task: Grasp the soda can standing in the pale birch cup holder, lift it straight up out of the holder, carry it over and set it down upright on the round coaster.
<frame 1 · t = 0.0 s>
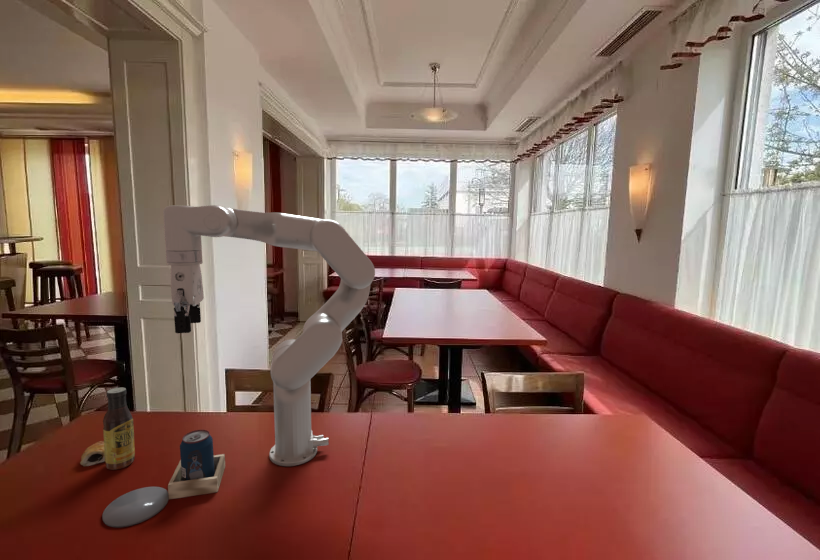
hand: (188, 327, 97), 37 cm above the table, fingers open, 9 cm apart
pastry: (98, 458, 105), on the table
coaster: (137, 506, 87), on the table
sauce bottle: (121, 464, 102), on the table
cup holder: (198, 481, 95), on the table
soda can: (198, 482, 96), resting in cup holder
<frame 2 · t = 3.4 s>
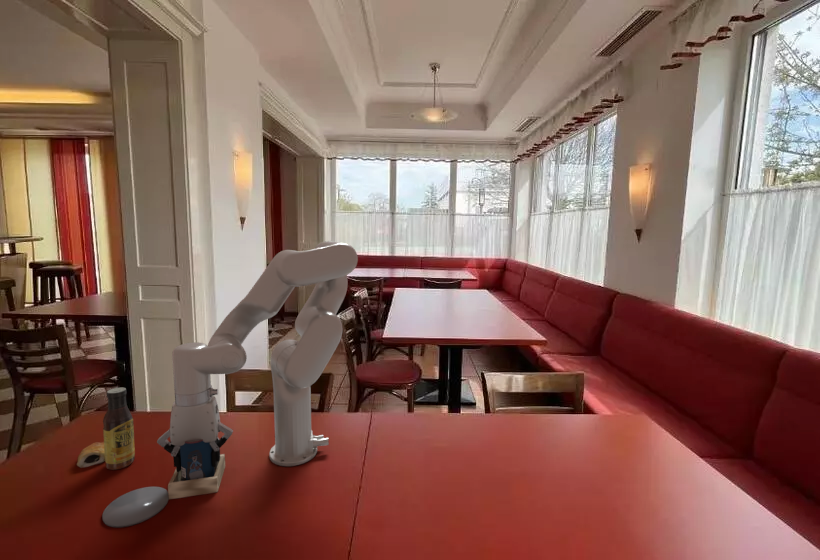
hand: (197, 465, 95), 4 cm above the table, fingers closed on soda can, 7 cm apart
soda can: (198, 482, 96), resting in cup holder, touching gripper
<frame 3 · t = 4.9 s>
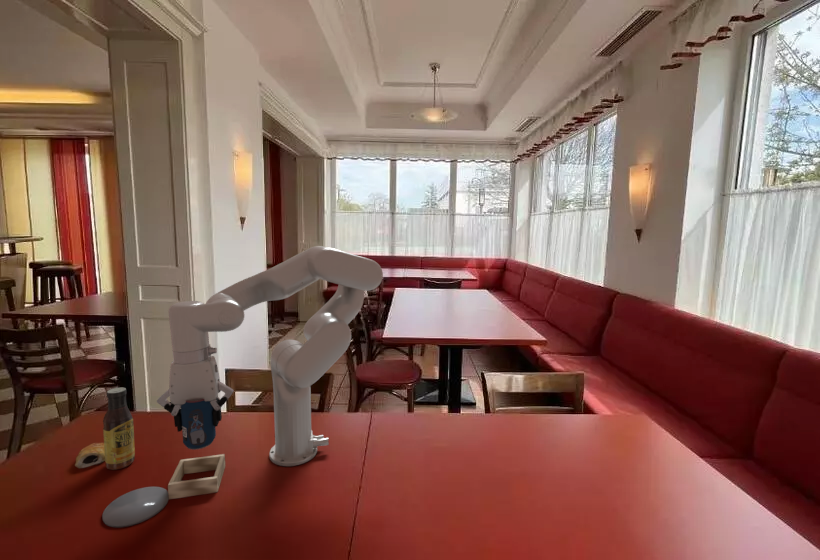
hand: (199, 425, 94), 14 cm above the table, fingers closed on soda can, 7 cm apart
soda can: (200, 443, 95), point 10 cm above the table, touching gripper
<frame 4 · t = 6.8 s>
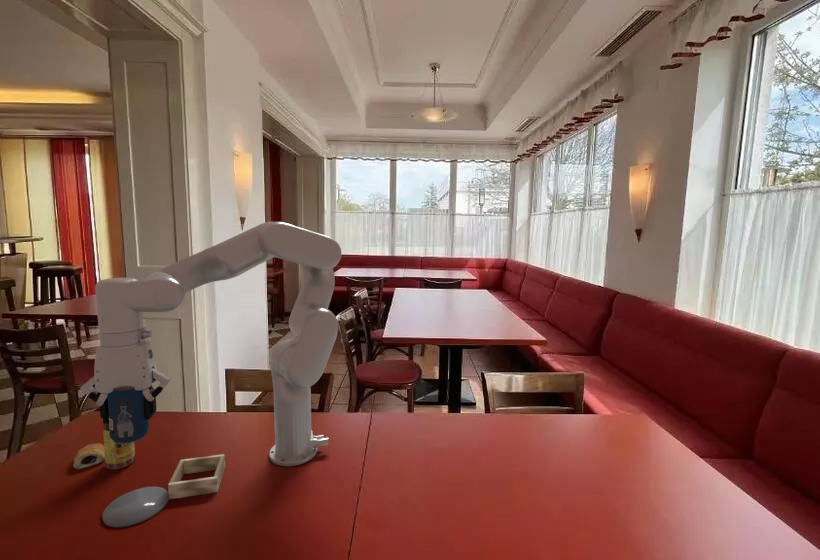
hand: (129, 418, 84), 21 cm above the table, fingers closed on soda can, 7 cm apart
soda can: (130, 438, 85), point 16 cm above the table, touching gripper
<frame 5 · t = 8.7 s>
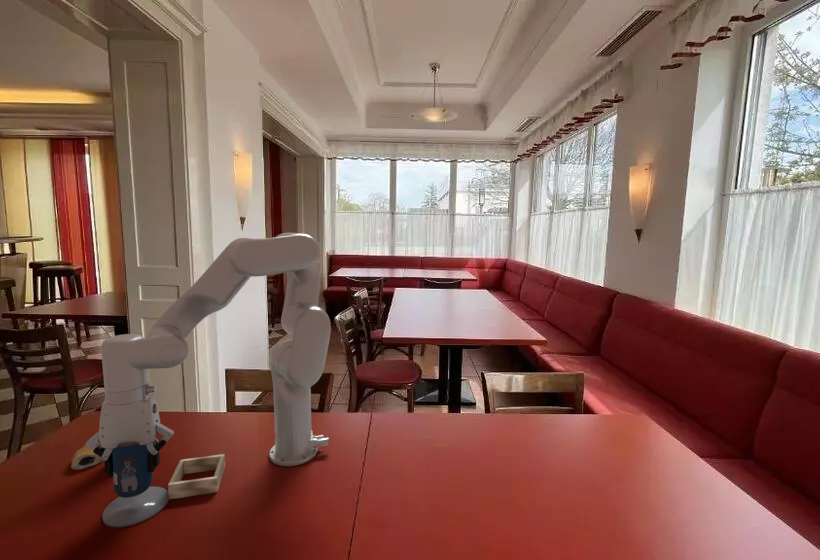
hand: (133, 470, 86), 9 cm above the table, fingers closed on soda can, 7 cm apart
soda can: (133, 490, 86), point 4 cm above the table, touching gripper
when the fingers open (6 cm above the table, at t = 10.3 s): soda can drops 1 cm, resting on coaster.
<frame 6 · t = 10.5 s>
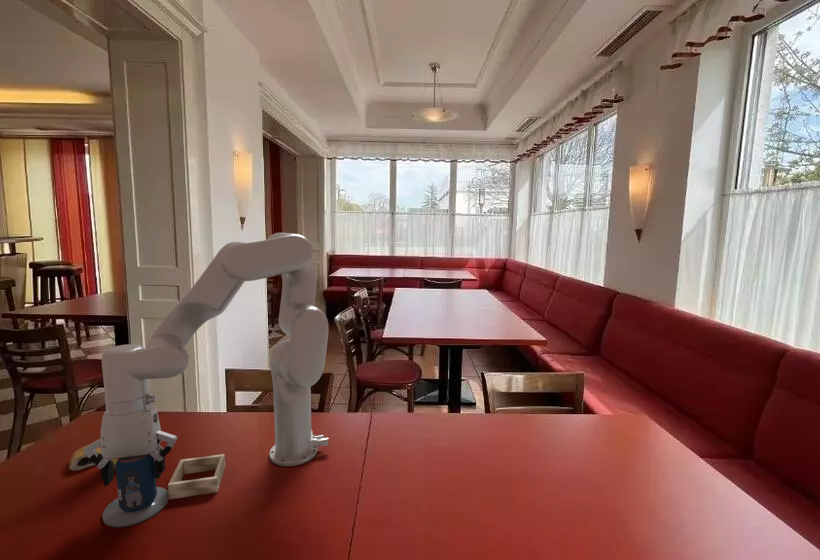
hand: (134, 478, 86), 7 cm above the table, fingers open, 9 cm apart
soda can: (138, 504, 87), resting on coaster
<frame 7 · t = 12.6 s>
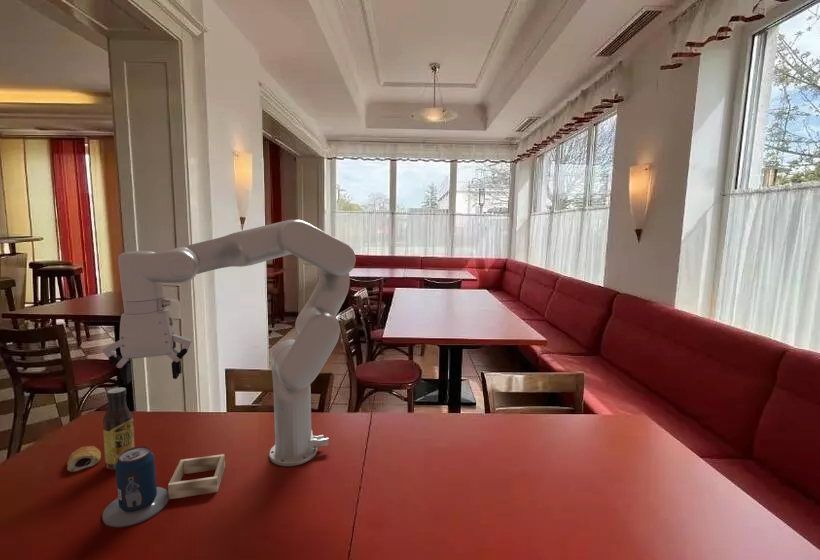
hand: (152, 379, 90), 26 cm above the table, fingers open, 9 cm apart
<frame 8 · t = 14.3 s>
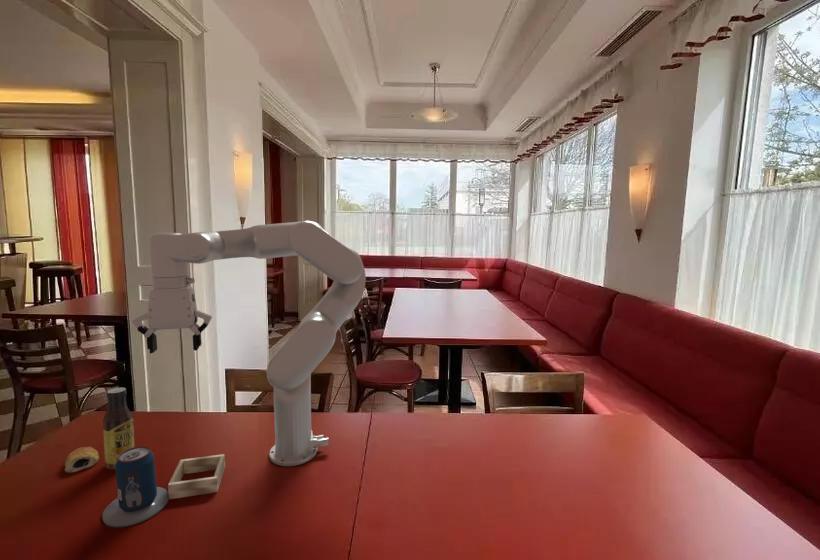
hand: (175, 350, 99), 30 cm above the table, fingers open, 9 cm apart
at the end: soda can 0.4 cm from the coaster (horizontally); soda can tilted 0°; the gripper is holding nothing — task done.
